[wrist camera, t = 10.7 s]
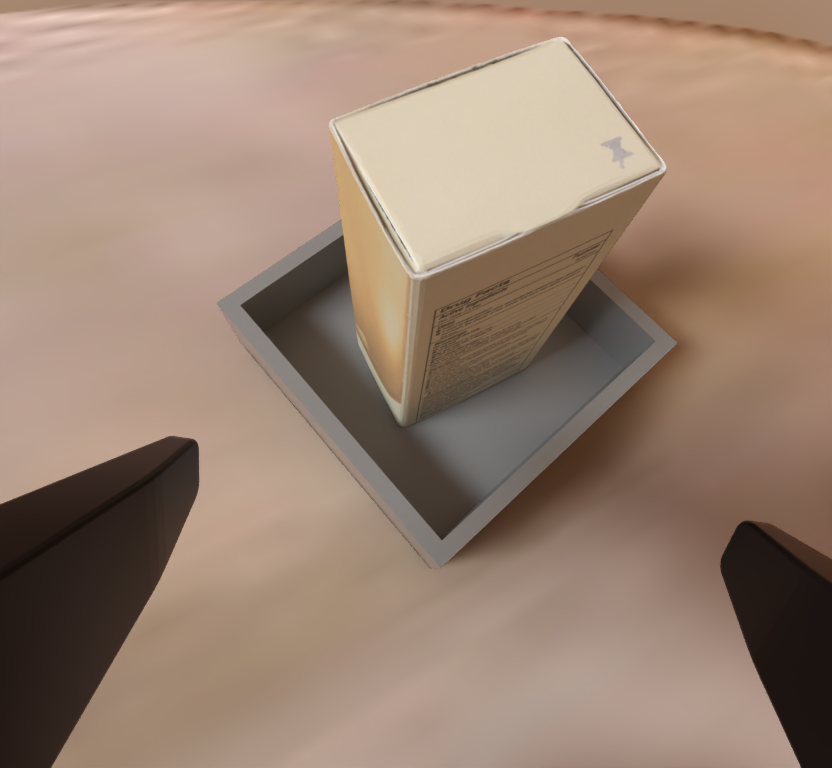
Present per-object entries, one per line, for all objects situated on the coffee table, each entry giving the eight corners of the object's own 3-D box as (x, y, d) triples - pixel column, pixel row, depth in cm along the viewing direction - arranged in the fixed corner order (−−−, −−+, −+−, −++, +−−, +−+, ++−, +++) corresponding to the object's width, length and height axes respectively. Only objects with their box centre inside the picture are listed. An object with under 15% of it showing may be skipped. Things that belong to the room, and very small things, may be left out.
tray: (635, 374, 24) (677, 343, 20) (430, 568, 20) (440, 568, 17) (449, 193, 26) (459, 139, 23) (239, 341, 23) (216, 302, 20)
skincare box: (480, 287, 24) (576, 22, 12) (530, 369, 23) (688, 163, 11) (348, 344, 23) (317, 108, 11) (394, 435, 21) (414, 278, 10)
